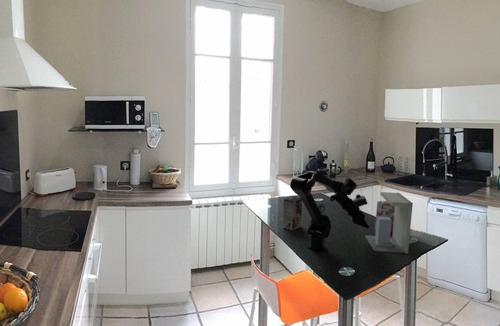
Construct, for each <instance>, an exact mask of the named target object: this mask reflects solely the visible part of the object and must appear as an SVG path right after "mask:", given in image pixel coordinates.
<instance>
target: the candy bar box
mask: <svg viewBox="0 0 500 326" xmlns="http://www.w3.org/2000/svg"><path fill="white" fill-rule="evenodd" d="M394 211H395V206H393V205H391V204H390V203H389V202H387V201H386V200H377V204H376V214H375V222H374V223H375V224H374V231H375V232H376V223H377V216H379V217H389V218H390V219H391V220H392V222H391V233H393V222H394Z"/></svg>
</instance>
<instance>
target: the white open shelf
mask: <svg viewBox="0 0 500 326" xmlns="http://www.w3.org/2000/svg"><path fill="white" fill-rule="evenodd" d="M380 196H381V197H382V198H383V199H384V201H387V202H389V203H390V204H391V205H393V206H395V211H394V222H393V232H392V236H390V244H379V243H376V242H375V236H376V235H366V234H365V235H364V237H365V239H366V240H367V242H368V243H369V245H370V246H371V248H372V251H374V252H378V253H379V252H380V253H381V252H382V253H400V254H409V247H410V236H411V228H412V227H411V226H412V225H411V224H412V217H413V216H412V215H413V214H412V213H413V204H414V203H413V202H412V201H411V200H409V199H408V198H406V197H405V196H404V195H403V194H401V193H400V192H391V191H389V192H388V191H387V192H386V191H381V192H380Z"/></svg>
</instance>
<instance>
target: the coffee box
mask: <svg viewBox="0 0 500 326" xmlns="http://www.w3.org/2000/svg"><path fill="white" fill-rule="evenodd" d="M302 206H303V201H302V199H301V197H299V196H298V197H297V196H290V197H287V198H285V199H283V214H282V215H283V218H282V228H283V229H284V228H286V229H285V230H288V229H289V231H291V230H293V231H295V230H297V229H298V228H301V227H302V213H303V207H302Z"/></svg>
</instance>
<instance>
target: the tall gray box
mask: <svg viewBox="0 0 500 326" xmlns="http://www.w3.org/2000/svg"><path fill="white" fill-rule="evenodd" d="M391 222H392V220H391V219H390V218H389V217H379V216H377V223H376V231H375V235H374V236H375V242H376V243H379V244H390V237H391V233H392V232H391Z"/></svg>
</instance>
